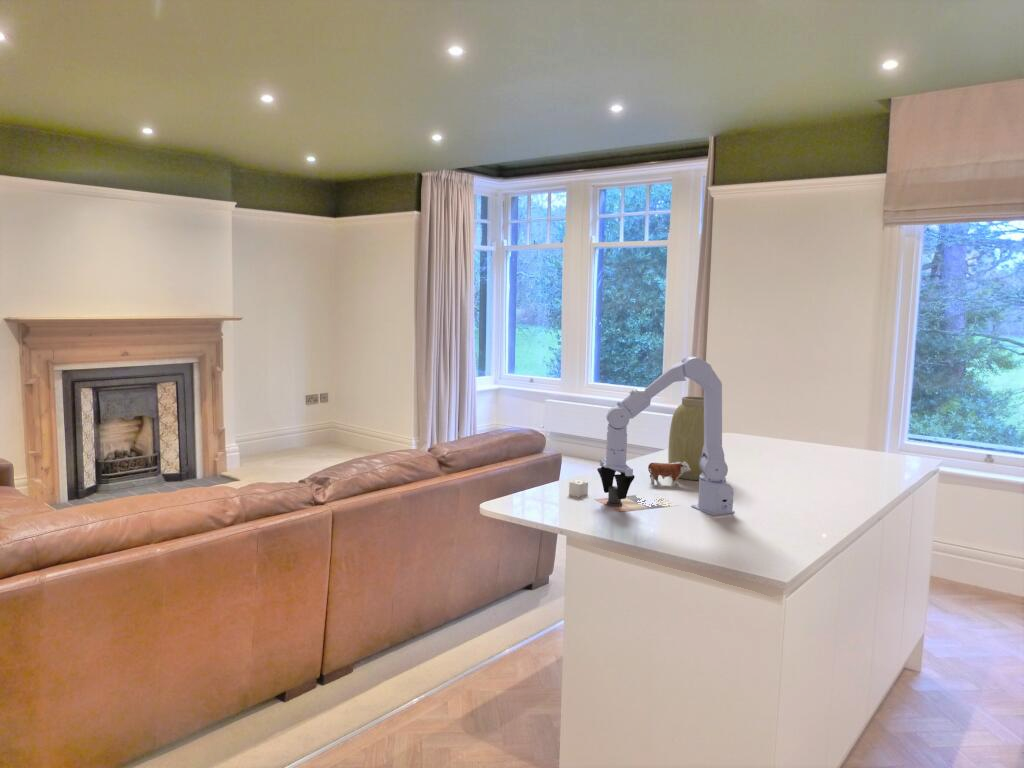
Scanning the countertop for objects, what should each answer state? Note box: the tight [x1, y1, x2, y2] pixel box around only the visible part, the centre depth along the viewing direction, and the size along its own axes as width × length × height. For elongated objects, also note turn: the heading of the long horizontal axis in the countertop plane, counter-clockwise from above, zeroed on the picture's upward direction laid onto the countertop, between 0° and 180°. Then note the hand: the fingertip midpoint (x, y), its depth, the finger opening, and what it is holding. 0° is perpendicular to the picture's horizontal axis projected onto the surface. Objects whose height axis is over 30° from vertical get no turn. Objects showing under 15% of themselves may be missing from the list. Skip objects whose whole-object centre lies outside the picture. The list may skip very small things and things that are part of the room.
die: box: [568, 479, 589, 498], centre depth 214 cm, size 4×4×4 cm
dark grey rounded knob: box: [606, 485, 622, 507], centre depth 203 cm, size 4×4×5 cm
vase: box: [667, 396, 704, 481], centre depth 241 cm, size 17×17×27 cm
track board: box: [594, 494, 673, 513], centre depth 206 cm, size 14×20×1 cm
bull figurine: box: [647, 461, 691, 487], centre depth 228 cm, size 4×13×8 cm, turn 79°
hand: (614, 495), depth 202 cm, fingers open, 7 cm apart
